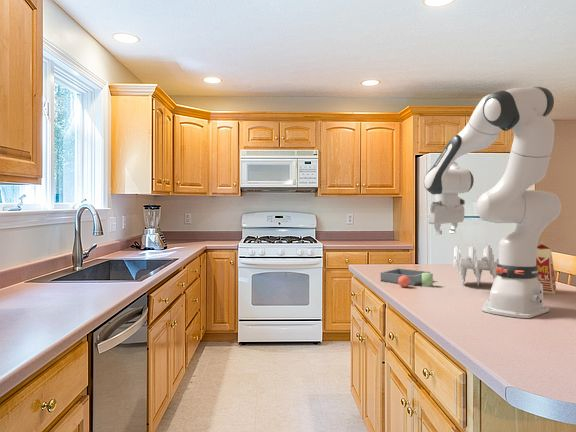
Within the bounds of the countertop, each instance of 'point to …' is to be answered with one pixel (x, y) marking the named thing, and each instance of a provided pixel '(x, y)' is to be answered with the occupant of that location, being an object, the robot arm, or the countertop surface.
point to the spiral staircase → (475, 262)
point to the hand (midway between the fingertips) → (445, 234)
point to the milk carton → (545, 269)
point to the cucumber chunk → (427, 279)
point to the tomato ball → (404, 281)
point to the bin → (394, 275)
